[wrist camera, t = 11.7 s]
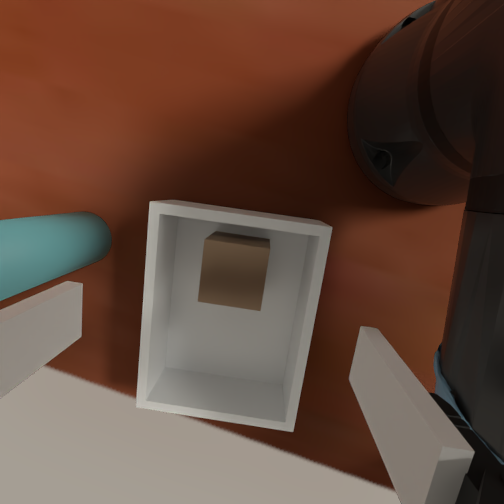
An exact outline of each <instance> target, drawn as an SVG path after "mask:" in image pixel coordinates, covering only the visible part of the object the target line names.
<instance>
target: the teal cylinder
mask: <svg viewBox="0 0 504 504" xmlns="http://www.w3.org/2000/svg"><path fill="white" fill-rule="evenodd" d="M111 243H112V237H111V232H110V230H109V227H108V226H107V224H106V223H105V222H104V221H103V219H101V218H100V217H99V216H97V215H95V214H93V213H90V212H74V213H64V214H54V215H45V216H35V217H26V218H16V219H7V220H0V301H1V300H4V299H6V298H8V297H11V296H13V295H16V294H18V293H21V292H23V291H26V290H28V289H31V288H33V287H36V286H38V285H40V284H43V283H45V282H48V281H50V280H53V279H55V278H58V277H60V276H63V275H65V274H68V273H70V272H72V271H75V270H77V269H80V268H82V267H85V266H87V265H90V264H92V263H95V262H97V261H99V260H101V259H103V258H104V257H105V256H106V255H107V254H108V252H109V250H110V248H111Z"/></svg>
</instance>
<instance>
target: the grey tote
mask: <svg viewBox="0 0 504 504" xmlns="http://www.w3.org/2000/svg"><path fill="white" fill-rule="evenodd" d="M332 228H333V227H331V226H329V225H327V224H325V223H324V222H322V221H320V220H315V219H307V218H300V217H293V216H286V215H279V214H272V213H265V212H258V211H251V210H244V209H237V208H230V207H223V206H216V205H209V204H201V203H194V202H187V201H180V200H161V201H150V204H149V219H148V234H147V249H146V264H145V279H144V294H143V309H142V323H141V338H140V353H139V368H138V383H137V398H136V407H137V408H143V409H149V410H156V411H162V412H168V413H175V414H181V415H187V416H194V417H200V418H206V419H213V420H219V421H225V422H232V423H238V424H245V425H251V426H257V427H264V428H270V429H276V430H283V431H289V432H293V431H294V425H295V420H296V415H297V410H298V405H299V400H300V394H301V389H302V384H303V379H304V374H305V368H306V363H307V358H308V353H309V348H310V342H311V337H312V332H313V327H314V322H315V316H316V311H317V306H318V301H319V296H320V290H321V285H322V280H323V275H324V270H325V264H326V259H327V254H328V249H329V244H330V238H331V233H332ZM215 231H219V232H226V233H233V234H240V235H247V236H253V237H260V238H267V239H270V254H269V260H268V267H267V273H266V280H265V286H264V293H263V299H262V305H261V311H256V310H249V309H243V308H236V307H230V306H223V305H216V304H210V303H203V302H198V293H199V284H200V275H201V266H202V257H203V248H204V239H206V238H207V237H208V236H210V235H211V234H212V233H214V232H215Z"/></svg>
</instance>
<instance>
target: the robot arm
mask: <svg viewBox="0 0 504 504" xmlns="http://www.w3.org/2000/svg"><path fill="white" fill-rule="evenodd" d="M347 127H348V136H349V141H350V145H351V149H352V151H353V154H354V157H355V159H356V161H357V163H358V165H359V166H360V168H361V169H362V171H363V172H364V174H365V175H366V176H367V177H368V179H369V180H370V181H371V182H372V183H373V184H375V185H376V186H377V187H378V188H379V189H381V190H382V191H384V192H385V193H387V194H389V195H390V196H392V197H395V198H397V199H400V200H402V201H406V202H410V203H415V204H424V205H453V204H459V203H464V202H466V207H465V210H464V213H463V219H462V225H461V231H460V237H459V243H458V249H457V255H456V262H455V268H454V274H453V280H452V286H451V292H450V298H449V304H448V310H447V316H446V322H445V328H444V334H443V340H442V343H441V344H440V345H439V348H438V350H437V351H436V352H435V356H434V371H435V376H436V386H435V393H428V392H427V390H426V389H425V388H424V387H423V385H422V384H421V383H420V382H419V380H418V379H417V378H416V377H415V375H414V374H413V373H412V371H411V370H410V369H409V368H408V366H407V365H406V364H405V363H404V361H403V360H402V359H401V358H400V356H399V355H398V354H397V352H396V351H395V350H394V349H393V347H392V346H391V345H390V344H389V342H388V341H387V340H386V339H385V337H384V336H383V335H382V334H381V332H380V331H379V330H378V328H372V327H365V326H361V327H360V331H359V336H358V340H357V344H356V349H355V353H354V358H353V362H352V366H351V371H350V375H349V381H350V383H351V386H352V388H353V391H354V393H355V395H356V398H357V400H358V402H359V405H360V407H361V410H362V412H363V414H364V417H365V419H366V421H367V424H368V426H369V429H370V431H371V433H372V436H373V438H374V440H375V443H376V445H377V448H378V450H379V452H380V455H381V457H382V459H383V462H384V464H385V467H386V469H387V471H388V474H389V476H390V479H391V481H392V483H393V486H394V488H395V490H396V493H397V495H398V498H399V500H400V502H401V504H504V0H436V1H433V2H431V3H428V4H426V5H425V6H423V7H421V8H419V9H417V10H416V11H414V12H412V13H411V14H409V15H408V16H406V17H405V18H404V19H403V20H401V21H400V22H399V23H398V24H396V25H395V26H394V27H393V28H392V29H391V30H390V31H389V32H388V33H387V34H386V35H385V36H384V37H383V39H382V40H381V41H380V42H379V43H378V45H377V46H376V47H375V49H374V50H373V51H372V53H371V54H370V55H369V57H368V58H367V60H366V61H365V63H364V64H363V66H362V68H361V70H360V71H359V73H358V76H357V78H356V80H355V83H354V85H353V88H352V92H351V95H350V99H349V105H348V114H347ZM82 291H83V283H77V282H70V281H66V282H63V283H61V284H59V285H57V286H54V287H52V288H50V289H47V290H45V291H43V292H40V293H38V294H36V295H34V296H31V297H29V298H27V299H24V300H22V301H20V302H17V303H15V304H13V305H11V306H8V307H6V308H4V309H1V310H0V399H1V398H2V397H3V396H4V395H5V394H7V393H8V392H10V391H11V390H12V389H13V388H15V387H16V386H18V385H19V384H20V383H21V382H23V381H24V380H25V379H27V378H28V377H29V376H30V375H32V374H33V373H35V372H36V371H37V370H38V369H40V368H41V367H42V366H44V365H45V364H46V363H48V362H49V361H50V360H52V359H53V358H54V357H56V356H57V355H58V354H59V353H61V352H62V351H63V350H65V349H66V348H67V347H69V346H70V345H71V344H73V343H74V342H75V341H76V340H78V339H79V338H80V337H81V335H82Z"/></svg>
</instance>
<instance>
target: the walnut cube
mask: <svg viewBox="0 0 504 504" xmlns="http://www.w3.org/2000/svg"><path fill="white" fill-rule="evenodd" d="M269 254H270V239H267V238H260V237H253V236H247V235H240V234H233V233H226V232H219V231H215V232H214V233H212V234H211V235H210V236H208V237H207V238H206V239H204V248H203V257H202V266H201V275H200V284H199V293H198V302H203V303H210V304H216V305H223V306H230V307H236V308H243V309H249V310H256V311H261V305H262V299H263V293H264V286H265V280H266V273H267V267H268V260H269Z"/></svg>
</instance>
